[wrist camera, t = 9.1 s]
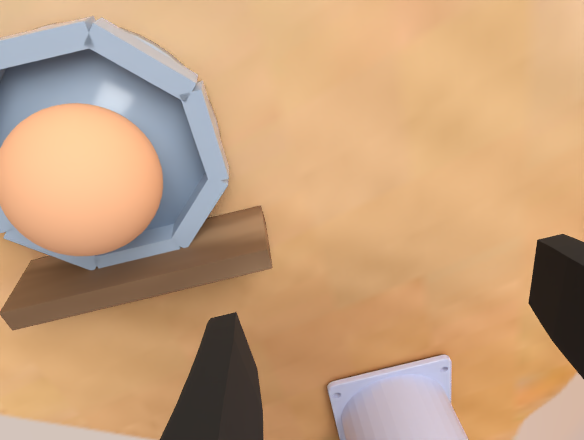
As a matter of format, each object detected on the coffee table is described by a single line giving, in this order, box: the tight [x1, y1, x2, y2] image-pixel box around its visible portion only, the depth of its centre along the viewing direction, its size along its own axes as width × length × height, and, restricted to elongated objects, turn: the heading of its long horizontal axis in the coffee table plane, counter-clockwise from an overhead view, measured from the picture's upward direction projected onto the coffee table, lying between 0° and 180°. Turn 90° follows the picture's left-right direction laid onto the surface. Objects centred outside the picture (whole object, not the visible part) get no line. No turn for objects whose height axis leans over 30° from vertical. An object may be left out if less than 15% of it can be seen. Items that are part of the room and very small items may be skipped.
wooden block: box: [0, 206, 272, 330], centre depth 19 cm, size 1×11×4 cm, turn 101°
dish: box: [0, 16, 229, 270], centre depth 17 cm, size 9×9×2 cm
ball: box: [0, 103, 163, 256], centre depth 15 cm, size 5×5×5 cm
